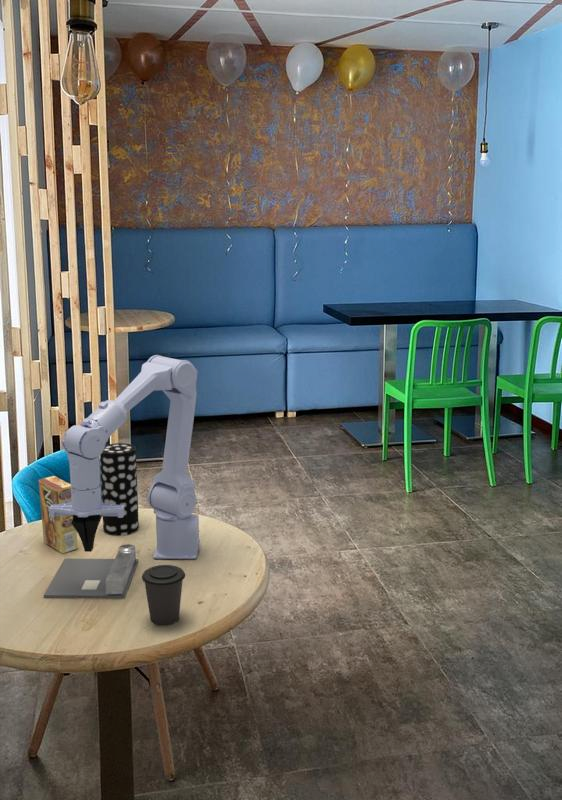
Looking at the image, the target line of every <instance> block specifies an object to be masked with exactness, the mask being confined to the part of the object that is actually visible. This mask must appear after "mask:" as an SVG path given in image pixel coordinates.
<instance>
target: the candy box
mask: <svg viewBox="0 0 562 800" xmlns="http://www.w3.org/2000/svg"><path fill="white" fill-rule="evenodd" d="M38 490H39V502H40V512H41V513H40V514H41V515H40V516H41V525H42V526H41V527H42V536H43V538H42V539H43V543H45V544H46V545H48V546H50V547H51V548H52V549H54V550H56V551H57V552H59V553H61V554H66V553H68V552H71V551H75V550H78V548H79V546H78V537H77V536H78V535H77V534H78V533H77V531H76V529H75V528H74V527H73V525H72V520H73V516H55V517H49V508H50V506H51V505H57V504H67V503H72V498H71V482H70V483H69V482H67V481H65V480H63V479H61V478H59V477H57V476H55V475H52V476H48V477H44V478H40V479H38Z"/></svg>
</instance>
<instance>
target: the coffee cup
mask: <svg viewBox="0 0 562 800" xmlns="http://www.w3.org/2000/svg"><path fill="white" fill-rule="evenodd" d="M185 578H186V573H185V571H184V570H183V568H181V567H180V566H178V565H172V564H161V565H160V564H159V565H155V566H151V567H149V568H147V569H146V570H144V571H143V573H142V574H141V580H142V581H143V582H144V586H145V593H146V600H147V605H148V611H149V613H148V614H149V619H150V622H151V623H152V624H153V625H156V626H160V627H163V626H164V627H165V626H166V627H167V626H172V625H174V624H176V623H177V622H178V621H179V619H180V611H181V600H182V591H183V588H182V587H183V580H184V579H185Z"/></svg>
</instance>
